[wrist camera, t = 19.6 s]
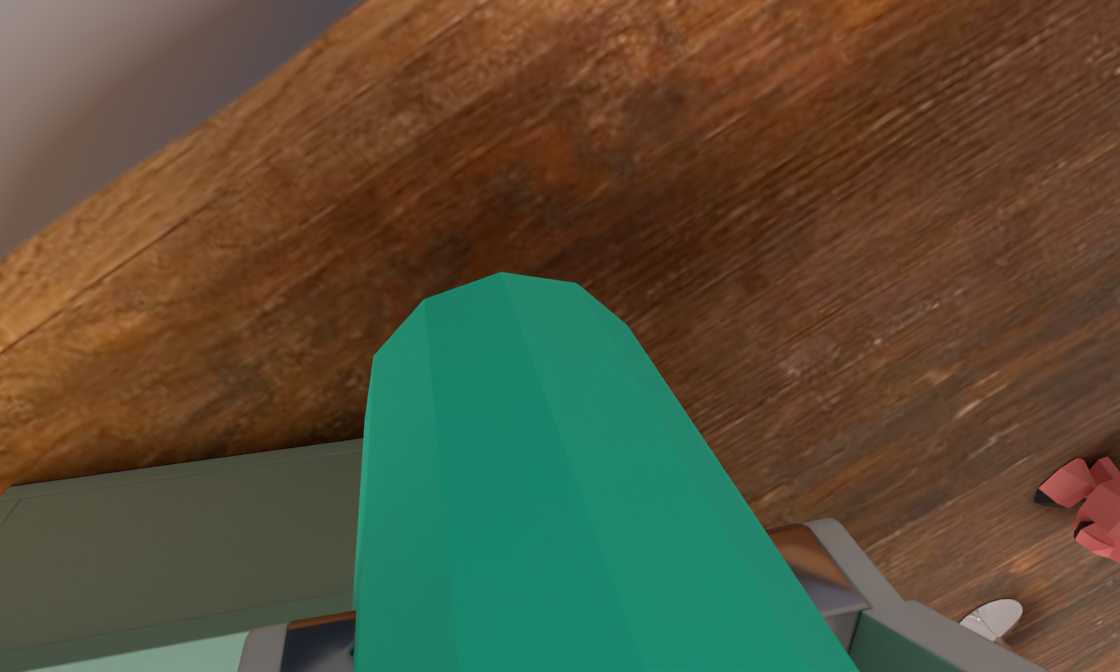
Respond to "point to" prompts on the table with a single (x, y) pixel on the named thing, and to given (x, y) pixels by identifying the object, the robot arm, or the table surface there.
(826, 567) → the robot arm
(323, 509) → the chest
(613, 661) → the candle
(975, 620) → the wineglass
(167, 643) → the lid
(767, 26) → the table surface
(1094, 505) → the cat figurine
